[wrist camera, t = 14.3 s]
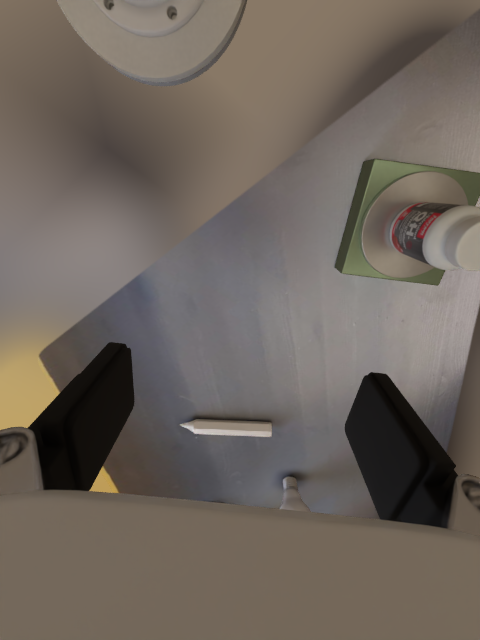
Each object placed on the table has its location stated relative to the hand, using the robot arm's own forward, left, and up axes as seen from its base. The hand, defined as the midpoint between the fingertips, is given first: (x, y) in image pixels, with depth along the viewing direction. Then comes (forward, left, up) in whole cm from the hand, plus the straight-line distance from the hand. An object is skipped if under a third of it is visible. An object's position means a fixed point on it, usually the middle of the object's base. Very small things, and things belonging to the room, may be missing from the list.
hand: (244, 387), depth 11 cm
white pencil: (0, -30, -26) cm, 40 cm away
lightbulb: (+14, -43, -26) cm, 52 cm away
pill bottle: (+18, +6, -23) cm, 29 cm away
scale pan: (+17, +5, -23) cm, 30 cm away
